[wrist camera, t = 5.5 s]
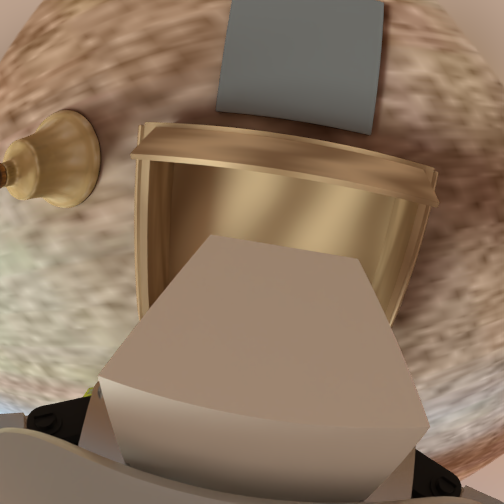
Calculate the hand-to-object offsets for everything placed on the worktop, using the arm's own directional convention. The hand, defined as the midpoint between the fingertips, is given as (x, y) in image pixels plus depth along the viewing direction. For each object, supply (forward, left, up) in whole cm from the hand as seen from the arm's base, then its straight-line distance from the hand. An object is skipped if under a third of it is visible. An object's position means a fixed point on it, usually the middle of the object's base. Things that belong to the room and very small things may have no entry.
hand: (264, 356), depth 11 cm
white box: (0, 0, -1) cm, 1 cm away
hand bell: (+18, -5, -12) cm, 22 cm away
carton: (0, -1, -12) cm, 12 cm away
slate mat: (0, -14, -12) cm, 18 cm away
